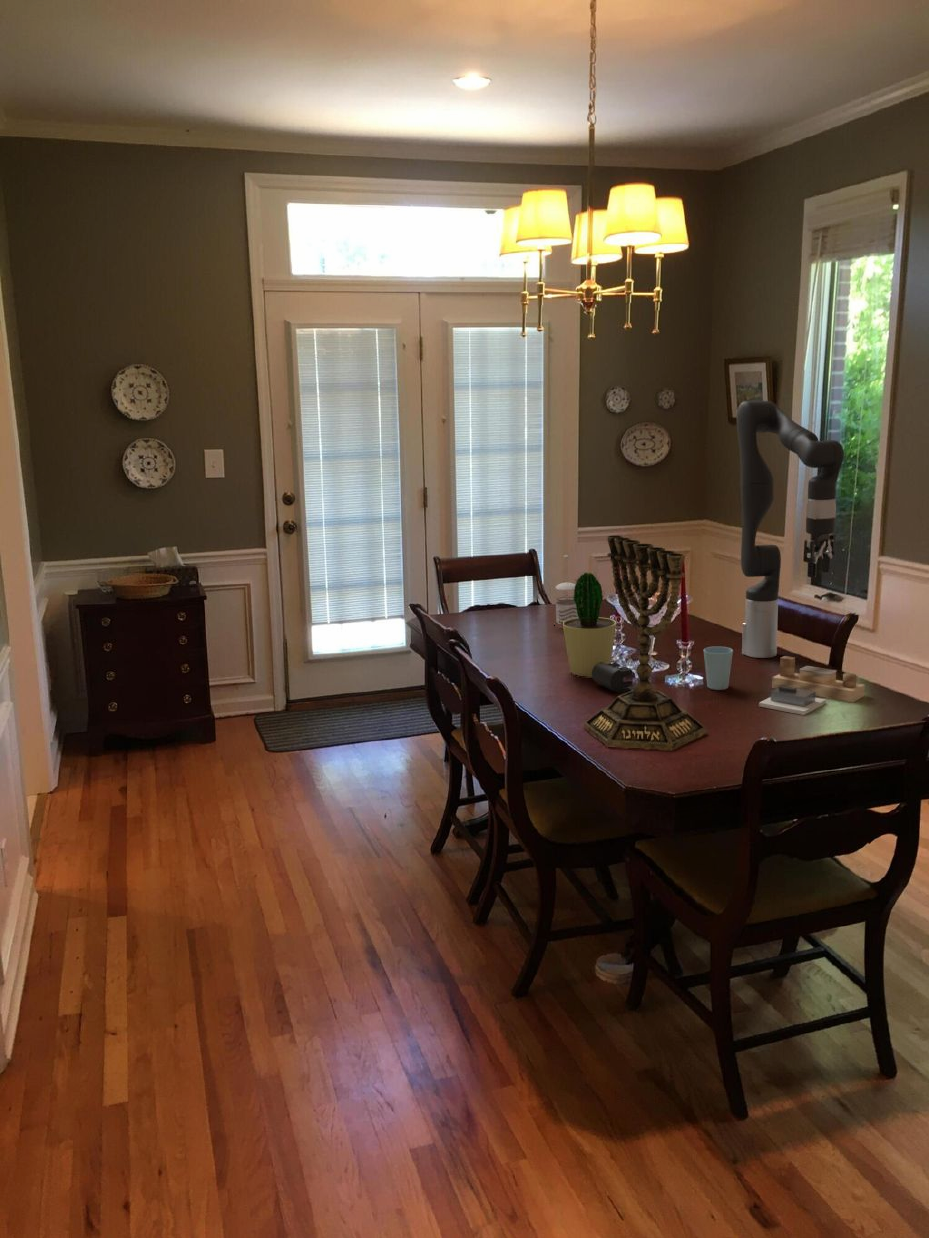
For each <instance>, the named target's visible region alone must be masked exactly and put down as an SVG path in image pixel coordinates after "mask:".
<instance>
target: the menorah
mask: <svg viewBox="0 0 929 1238" xmlns="http://www.w3.org/2000/svg"><path fill="white" fill-rule="evenodd" d="M606 539H607V540H606V541H607V543H608V546H609V550H610V552H608V553H607V555H606V556H607V557H610V563H611V568H612V573H613V575H612V577H613V582H612V584H613V586H614V588H615V590H616V591H615V592H616V594H617V598H618V603H619V606H620V607H621V608H622V611H623V613H624V614H625V617H626V619H627V621H628V622H629V623H630V624H631V625H632V627H633V628H634V629H635V630H637V631H639V632H640V633H638V636H637V640H638V642H639V644H638V648H637V650H638V653H639V654H638V657H637V658H638V662H639V664H638V665H637V666H636V669H635V672H636V675H637V676H638V678H639V680H638V682H637V683H635V686H634V687H633V689H631V691H629V692H624V693H621V694H620V695H618V696H616V697H615V698H614V700H613V701H612V702H611V704H610V705H608V706H606V707H603V708H601V709H600V710H599V711H597V712H596V713H595V714H594V715H592V716H590V717H589V718H588V719H587V720H585V722H583V728H584V727H585V728H586V729H587V730H588V731H589V732H591V733H592V734H593V735H595V736H596V737H597V738H598V739H599V740H600V741H603V742H604V743H605V744H606V745H607V746H615V747H627V748H626V749H628V748H645V749H644V750H649V749H658V750H657V751H674V750H676V749H678V748H681V747H683V746H684V745H686V744H689V743H691V742H693V741H694V740H697V739H699V738H701V737H703V736H705V735H707V732H708V731H707V727H706V726H705V725H703V724H702V723H701V722H700V721H699V720H697V718H695V717H694V716H693V715H692V714H690V713H689V712H688V711H686V710H685V709H683V708H681V707H680V706H678V705H677V703H676V702H675V701H674V700H673V699H672V697H670V696H668V695H667V694H665V693H664V692H661V691H660V690H655V687H654V685H653V684H652V683H651V681H650V680H649V679H650V678H651V675H652V674H653V673H652V671H653V669H652V666H651V665H650V664H649V662H650V659H651V658H650V655H649V652H650V649H651V647H650V645H649V643H650V638H651V637H650V636H655V635H659V634H661V633H662V632H663V631H665V629H666V628H667V627H669V626H670V625H671V622H672V619H673V618H674V615H675V612H676V611H677V609H678V608H679V603H678V601H679V596H680V589H681V588H680V586H681V584H682V579H683V578H685V577H686V574H685V573H684V572H682V570H683V567H684V563H685V559H686V554H685V553H676V551H675V550H666V548H665V547H661V546H660V547H657V546H655V545H654V543H641V541H640V540H639V539H632V538H630V537H624V536H623V535H619V534H618V535H617V534H616V535H614V534H613V535H608V536H607V537H606ZM637 567H638V572H639V573H640V575H639V576H640V578H639V576H638V575H637V571H636V568H637ZM648 571H650V574H651V577H652V578H651V582H650V583H649V584H648V578H647V576H648V574H647V573H648ZM660 579H661V587H660V586H659V584H660ZM670 584H671V588H669V587H670ZM632 588H633V589H632ZM659 588H660V591H659ZM669 589H670V597H669V600H668V594H669V592H668V591H669ZM633 590H634V592H633ZM658 591H659V594H658V595H657V596H656V602H655V603H654V604H653V606H651V607H650V608H649V606H650V599H651V598H653V596H654V595H655V594H656V593H657V592H658ZM635 593H636V595H638V596H639V598H637V597H636V596H635ZM629 604H630V605H631V606H632V608H634V609H635V610H636V612H637V613H639V616H638V617H636V614H635V613H634V612H633V611H632V609H631V607H630V605H629ZM665 604H666V608H667V609H666V610H665V612H664V615H662V616H661V618H660V621H659V623H657V624H655V625H653V626H649V625H650V623H651V619H650V616H654V615H657V614H659V613H660V611H661V610H662V608H663V607H664V605H665ZM587 730H586V731H587ZM588 731H587V732H588ZM589 732H588V733H589ZM592 734H591V735H592ZM593 735H592V736H593ZM598 739H597V740H598ZM599 740H598V741H599ZM600 741H599V742H600ZM690 741H691V742H690ZM688 742H689V743H688Z"/></svg>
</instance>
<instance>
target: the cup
mask: <svg viewBox="0 0 929 1238" xmlns="http://www.w3.org/2000/svg"><path fill="white" fill-rule="evenodd" d="M733 654H734V650H733V649H732V648H731V647H727V646H708V647H705V648H704V649H703V656H704V657H703V658H704V669H705V677H706V686H707V688H709V689H711V690H716V691H720V690H726V689H728V688H729V684H730V683H729V682H730V678H731V677H730V675H731V669H732V668H731V667H732V660H733Z"/></svg>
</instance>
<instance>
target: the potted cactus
mask: <svg viewBox="0 0 929 1238" xmlns="http://www.w3.org/2000/svg"><path fill="white" fill-rule="evenodd" d="M579 574H580V575H578V576H577V578H574V581H575V582H574V581H573V582H571V583H573V584H574V585H575V587H574V586H573V587H574V588H575V589H574V590H573V589H572V590H571V591H573V593H571V597H574V599H571V600H574V602H573V603H576V610H577V611H576V613H577V615H578V617H579V618H574V619H569V620H566V621H564V622H563V634H564V635H563V636H564V640H565V647H566V653H567V659H568V665H569V670H570V673H571V672H572V673H574V674H578V675H581V676H588V677H587V678H592V670H593V667H594V666H595V665H596V664H597V663H599V662H603V663H605V664H610V663H612V656H613V655H612V654H613V648H614V641H615V633H616V626H617V621H616V620H614V619H612V618H608V617H600V616H601V615H600V613H602V609H601V608H603V606H602V605H603V600H604V595H603V594H605V593H606V592H605V591H607V589H606V590H604V591H603V587H602V585H601V582H600V581H599V579H598V578H600V576H599V577H598V576H597V574H596V572H594V573H592V572H583V574H581V572H580V573H579ZM574 611H575V610H574ZM575 615H576V614H575Z"/></svg>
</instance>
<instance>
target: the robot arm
mask: <svg viewBox="0 0 929 1238" xmlns="http://www.w3.org/2000/svg"><path fill="white" fill-rule="evenodd" d="M736 430H737V437H738V438H737V439H738V447H739V457H740V458H739V459H740V460H739V461H740V498H741V499H740V500H741V501H740V502H741V519H742V520H741V523H742V525H741V526H742V527H741V546H740V547H741V548H740V549H741V550H740V566H741V572H742V574H743V575H744V576H745V577H746V578H747V577H749V578H750V577H751V578H753V577H755V578H756V577H764V578H763V579H761V581H760V582H758V583H757V584H755V585H752V586H750V587H748V588H747V589H746V591H745V620H744V622H743V623H742V625H741V626H742V630H741V631H742V632H741V633H742V634H741V635H742V636H741V637H742V639H741V640H742V642H741V643H742V644H741V654H742V655H745V656H748V657H751V658H755V659H756V658H759V659H766V658H774V657H776V656H777V655H778V654H777V649H778V617H779V616H778V615H779V614H778V613H779V612H778V611H779V609H778V608H779V591H780V577H781V566H782V565H781V564H782V555H781V551H780V548H779V546H777V545H776V544H758V545H756V537H757V533H758V529H759V527H760V525H761V523H762V521H763V520H764V518H765V517H766V515H767V514H768V512H769V510H770V508H771V506H772V505H773V502H774V498H775V496H774V495H775V494H774V491H775V490H774V476H773V474H772V471H771V469H770V468H769V466H768V464H767V462H766V461H765V460H764V458H763V456H762V455H761V453H760V450H759V445H758V441H757V439H758V438H757V434H764V433H772V434H775V435H778V436H779V441H780V444H782V445H783V447H785V449H788V450H789V451H790V452H792V453H794V454H796V456H797V457H798V458H799V459H800V461H801V462H802V464H803V465H805V467H806V466H807V467H808V468H812V469H818V468H820V469H821V468H822V469H821V470H820V471H821V472H820V473H819V474H818V475H816V476H813V477H811V478H809V480H808V482H807V486H808V487H807V501H806V502H807V503H806V514H805V516H806V517H805V533H807V534H809V535H810V538H809V539H804V542H803V558H802V559H803V562H804V563H806V564H807V577H809V578H816V577H817V569H818V567H817V566H818V564H817V563H818V559H819V558H820V557H821V572H822V573H826V574H827V573H830V572H831V561H832V560H831V559H832V558H833V556H835V555H836V534H835V532H836V519H837V517H836V516H837V515H836V513H837V504H836V492H837V490H836V487H837V485H836V484H837V481H838V478H839V476H840V475H839V474H840V471H841V468H842V465H843V462H844V458H845V457H844V455H845V453H844V448H843V445H842V444H841V443H840V442H839V441H838V440H833V439H832V440H819V438H818V436H817V435H816V433H814V432H812V431H810V430H809V429H807V428H805V427H804V426H802V425H800V424H798V423H797V422H795V421H794V420H793V419H792V418H791V417H789V415H788V414H786V413H785V412H784V411H783V410H782V409H781V408H780V407H779V406H778V405H777V404H775V403H774V402H772V401H770V400H745V401H742V402H741V403H740V405H739V406H738V407H737V412H736Z"/></svg>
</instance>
